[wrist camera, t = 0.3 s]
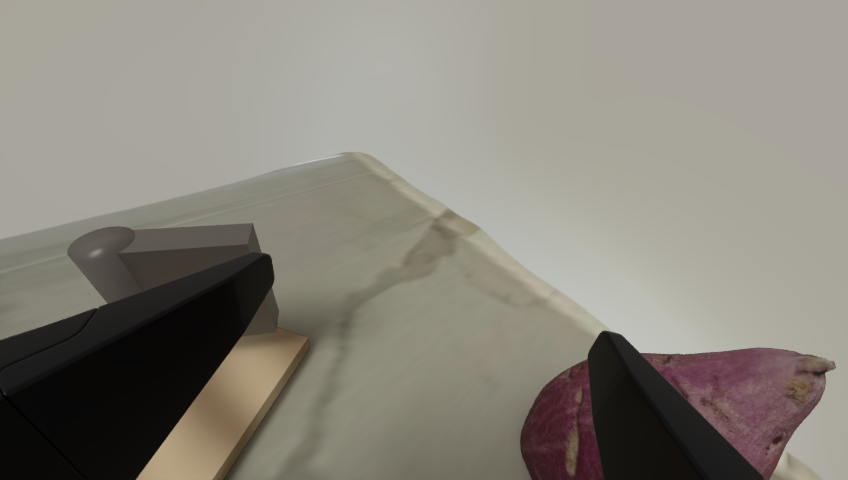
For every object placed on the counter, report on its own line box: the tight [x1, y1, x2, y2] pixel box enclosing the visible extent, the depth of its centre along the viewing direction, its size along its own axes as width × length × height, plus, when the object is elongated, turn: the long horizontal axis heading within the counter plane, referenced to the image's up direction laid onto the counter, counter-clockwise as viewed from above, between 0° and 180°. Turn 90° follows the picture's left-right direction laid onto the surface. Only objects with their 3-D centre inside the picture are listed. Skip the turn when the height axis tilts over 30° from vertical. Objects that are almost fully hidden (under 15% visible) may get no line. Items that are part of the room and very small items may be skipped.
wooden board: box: [136, 327, 310, 480], centre depth 21 cm, size 12×13×2 cm
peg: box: [67, 223, 279, 337], centre depth 21 cm, size 6×8×10 cm
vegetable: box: [520, 348, 836, 480], centre depth 18 cm, size 10×10×15 cm
